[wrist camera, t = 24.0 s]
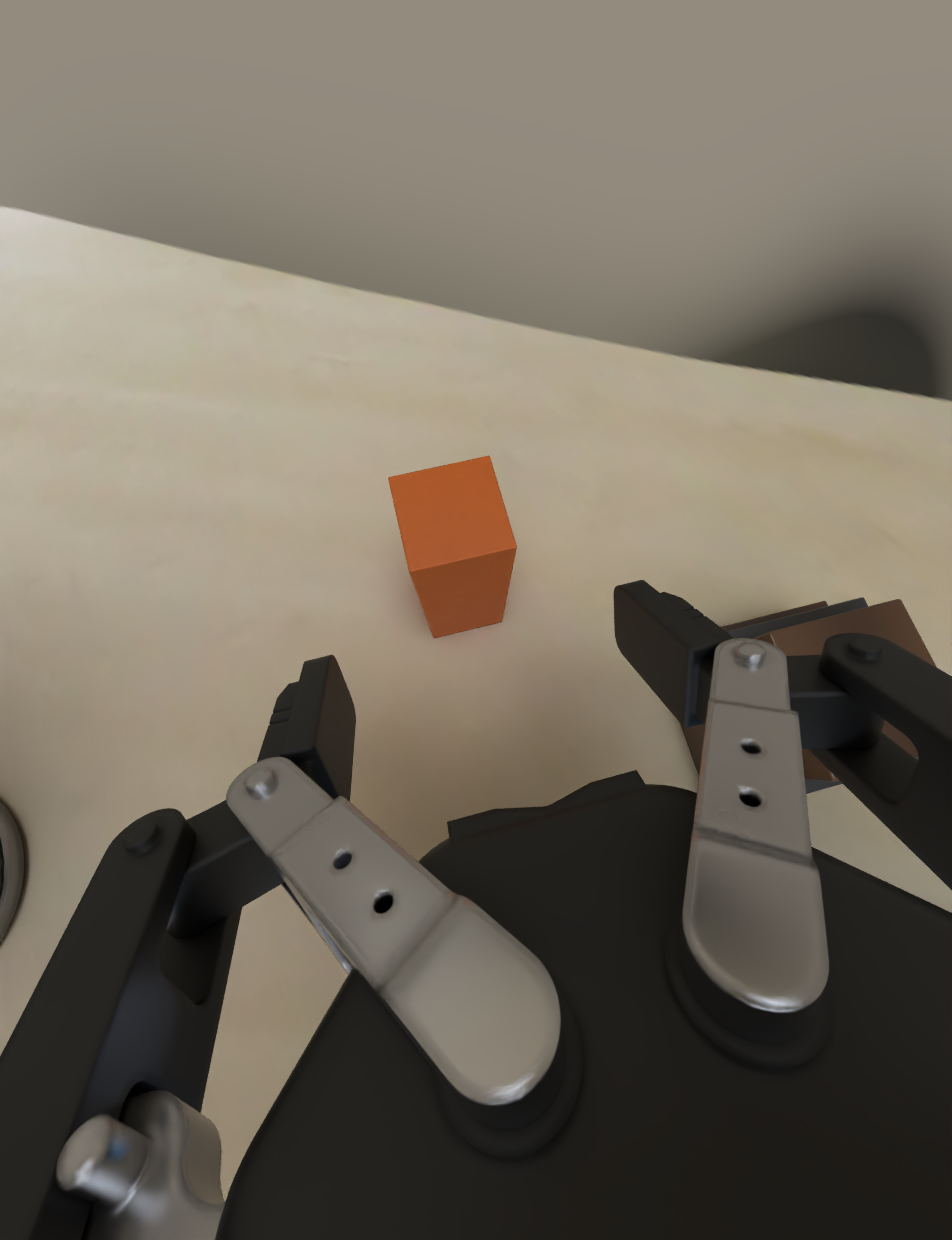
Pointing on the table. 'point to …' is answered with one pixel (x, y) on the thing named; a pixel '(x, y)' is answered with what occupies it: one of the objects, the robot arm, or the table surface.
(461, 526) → the bar
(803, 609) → the brown stepped pyramid
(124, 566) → the table surface
